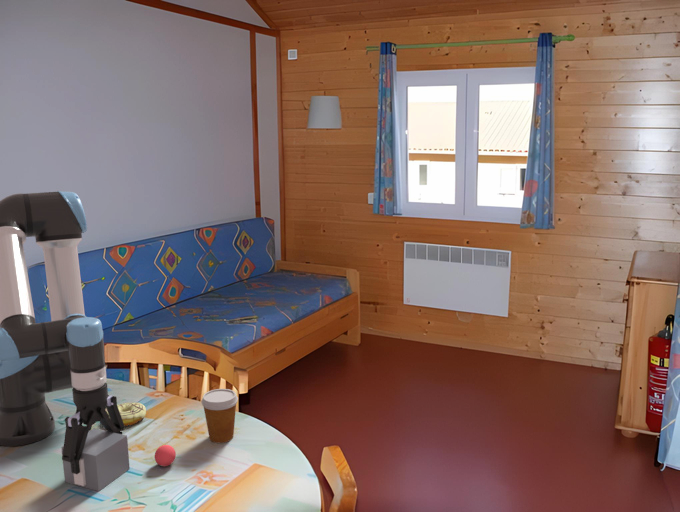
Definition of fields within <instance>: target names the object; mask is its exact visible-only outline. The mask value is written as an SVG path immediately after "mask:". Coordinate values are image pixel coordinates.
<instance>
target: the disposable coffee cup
mask: <svg viewBox="0 0 680 512" xmlns="http://www.w3.org/2000/svg"><path fill="white" fill-rule="evenodd" d="M238 401H239V397H238V395H237V393H236V392H235V391H234V390H232V389H229V388H217V389H211V390H209V391H207V392H205V393H204V394H203V396H202V398H201V402H200V403H201V405H202V407H203V410H204V417H205V421H206V427H207V432H208V436H209V440H210V442H212V443H216V444H222V443H227V442H230V441H231V440H232V439H233V438H234V432H235V422H236V410H237V403H238Z"/></svg>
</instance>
